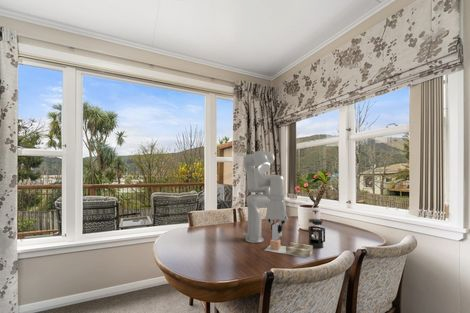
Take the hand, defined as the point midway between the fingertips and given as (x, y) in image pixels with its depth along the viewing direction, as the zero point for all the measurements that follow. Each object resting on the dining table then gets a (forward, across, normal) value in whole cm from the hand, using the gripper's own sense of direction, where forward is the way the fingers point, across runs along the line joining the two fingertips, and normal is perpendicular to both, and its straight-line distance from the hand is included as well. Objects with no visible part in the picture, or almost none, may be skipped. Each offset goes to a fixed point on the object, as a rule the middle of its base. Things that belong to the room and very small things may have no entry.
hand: (276, 231), depth 129 cm
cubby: (+15, +9, +18) cm, 25 cm away
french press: (+16, +16, +35) cm, 42 cm away
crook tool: (+4, 0, +3) cm, 5 cm away
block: (+15, -6, +18) cm, 24 cm away
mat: (+16, +2, +18) cm, 24 cm away
